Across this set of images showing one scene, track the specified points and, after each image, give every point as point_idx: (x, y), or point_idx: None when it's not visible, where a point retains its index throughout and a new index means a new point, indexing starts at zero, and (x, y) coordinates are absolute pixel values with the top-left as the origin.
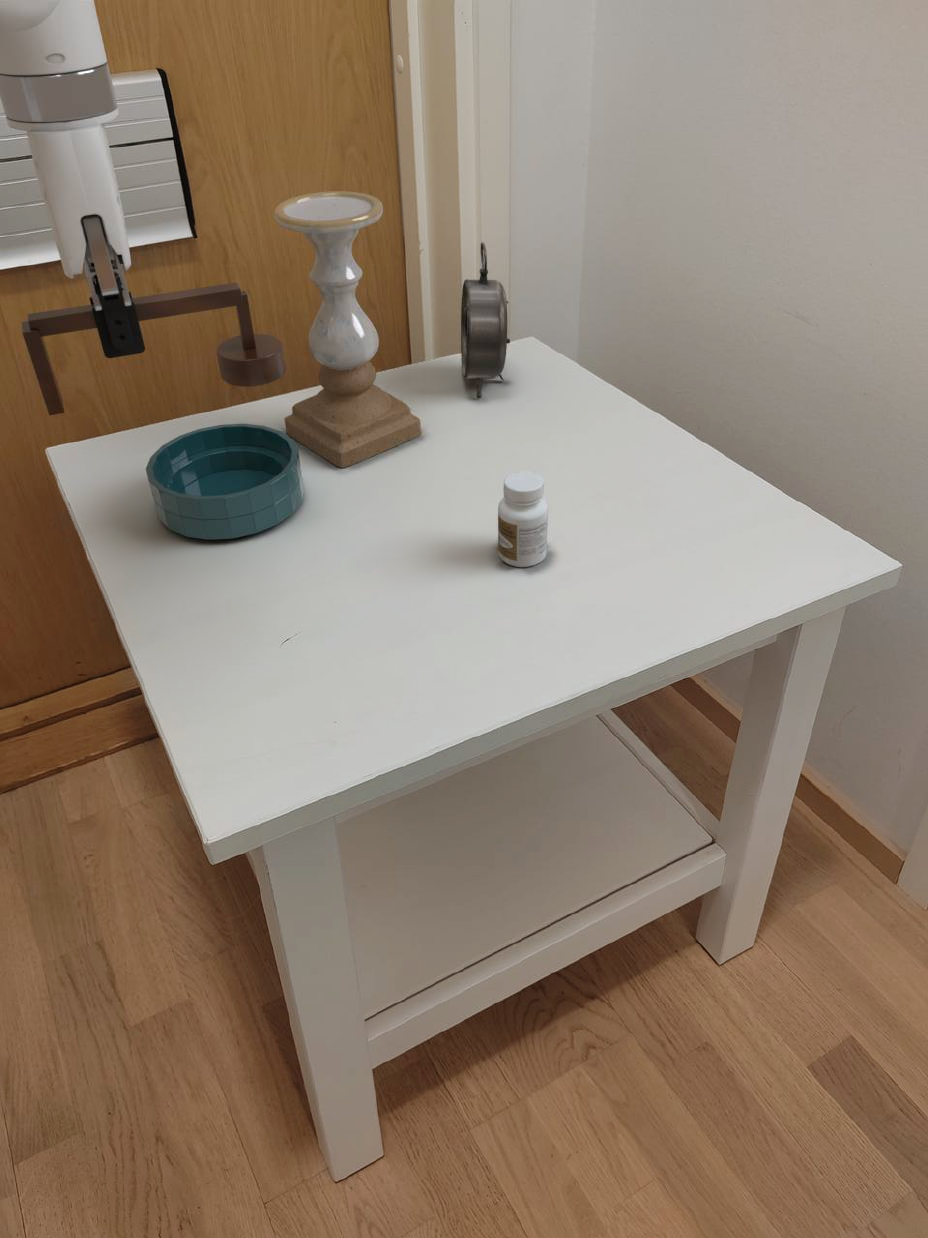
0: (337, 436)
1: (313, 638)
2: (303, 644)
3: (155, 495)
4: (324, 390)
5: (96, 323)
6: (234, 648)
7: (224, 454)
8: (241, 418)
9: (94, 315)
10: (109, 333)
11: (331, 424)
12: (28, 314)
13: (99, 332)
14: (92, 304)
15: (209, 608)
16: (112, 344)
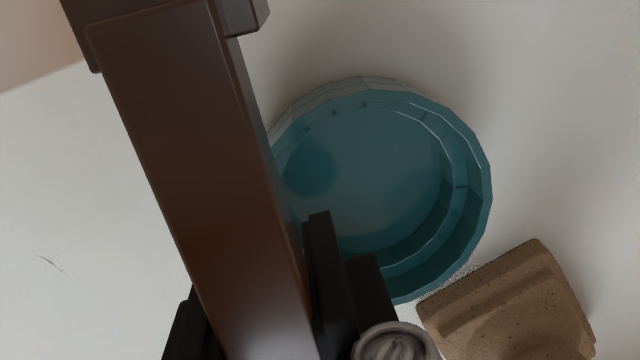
0: (444, 331)
1: (54, 287)
2: (43, 278)
3: (312, 103)
4: (546, 336)
5: (185, 318)
6: (30, 207)
7: (451, 182)
8: (606, 173)
9: (178, 344)
10: (169, 334)
11: (472, 328)
12: (196, 5)
13: (189, 296)
14: (301, 322)
15: (111, 171)
16: (181, 304)
